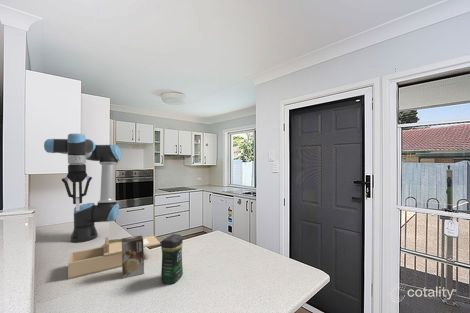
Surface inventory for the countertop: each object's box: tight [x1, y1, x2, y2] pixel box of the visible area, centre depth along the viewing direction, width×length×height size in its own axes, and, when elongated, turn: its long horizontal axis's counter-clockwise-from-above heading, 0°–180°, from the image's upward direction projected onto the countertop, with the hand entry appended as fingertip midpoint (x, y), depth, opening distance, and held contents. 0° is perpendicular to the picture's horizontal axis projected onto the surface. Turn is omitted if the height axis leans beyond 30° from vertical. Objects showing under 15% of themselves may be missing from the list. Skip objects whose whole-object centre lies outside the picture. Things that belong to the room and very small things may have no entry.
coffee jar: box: [160, 233, 184, 284], centre depth 98 cm, size 10×8×19 cm
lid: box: [103, 235, 161, 256], centre depth 119 cm, size 14×26×5 cm, turn 122°
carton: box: [100, 238, 122, 247], centre depth 131 cm, size 8×16×4 cm, turn 7°
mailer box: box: [67, 246, 122, 281], centre depth 111 cm, size 14×26×7 cm, turn 122°
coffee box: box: [121, 234, 145, 279], centre depth 103 cm, size 9×6×16 cm
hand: (77, 210), depth 114 cm, fingers closed
